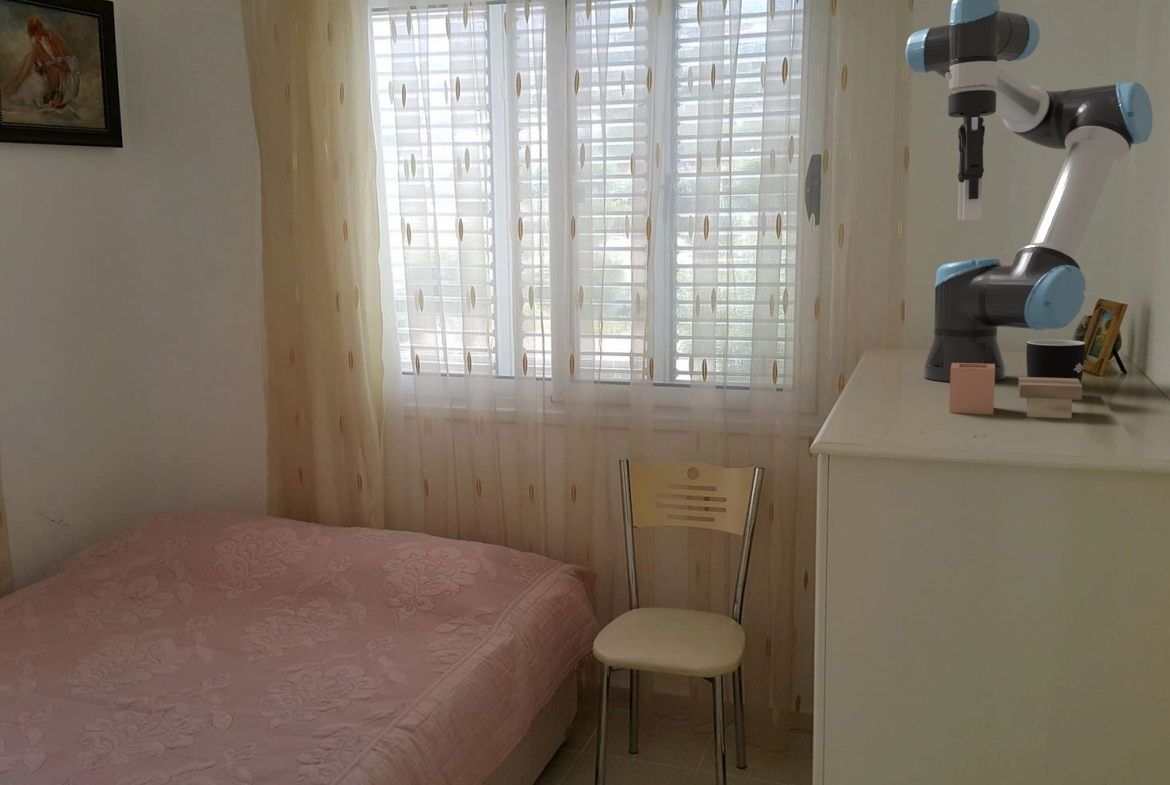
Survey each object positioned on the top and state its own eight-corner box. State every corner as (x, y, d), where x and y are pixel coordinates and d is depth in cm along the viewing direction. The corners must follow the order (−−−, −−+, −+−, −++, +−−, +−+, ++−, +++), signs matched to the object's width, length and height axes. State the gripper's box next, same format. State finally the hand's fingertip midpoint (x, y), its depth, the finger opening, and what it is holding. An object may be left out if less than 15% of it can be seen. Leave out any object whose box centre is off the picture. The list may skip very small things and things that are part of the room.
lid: (1018, 389, 160) (1018, 376, 160) (1077, 391, 157) (1077, 378, 157) (1019, 397, 152) (1020, 384, 152) (1081, 399, 149) (1082, 386, 149)
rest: (1025, 416, 159) (1026, 390, 159) (1068, 417, 157) (1069, 392, 156) (1027, 422, 154) (1028, 396, 153) (1071, 424, 152) (1072, 398, 151)
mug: (1079, 407, 166) (1082, 345, 164) (1020, 404, 170) (1022, 344, 169) (1087, 397, 176) (1090, 338, 174) (1031, 393, 180) (1034, 337, 179)
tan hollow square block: (950, 411, 164) (951, 362, 163) (992, 413, 162) (994, 363, 161) (948, 418, 159) (950, 367, 157) (993, 420, 156) (995, 369, 155)
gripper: (944, 100, 183) (942, 220, 186) (952, 83, 159) (949, 220, 163) (989, 98, 181) (986, 218, 184) (1004, 80, 157) (1000, 219, 160)
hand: (969, 220), depth 173 cm, fingers open, 13 cm apart
